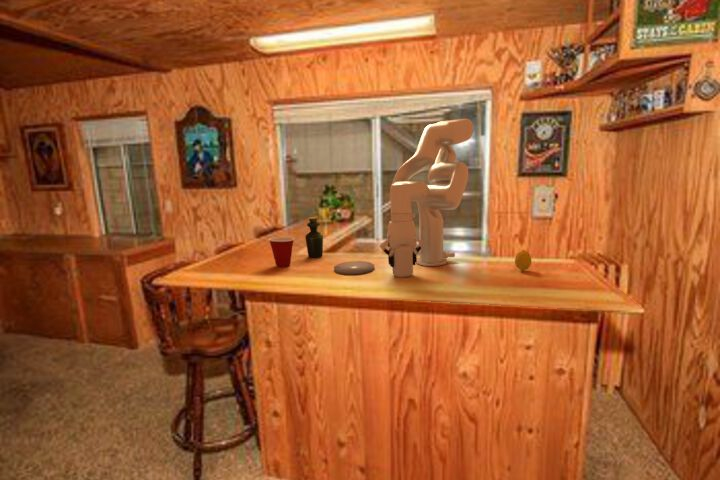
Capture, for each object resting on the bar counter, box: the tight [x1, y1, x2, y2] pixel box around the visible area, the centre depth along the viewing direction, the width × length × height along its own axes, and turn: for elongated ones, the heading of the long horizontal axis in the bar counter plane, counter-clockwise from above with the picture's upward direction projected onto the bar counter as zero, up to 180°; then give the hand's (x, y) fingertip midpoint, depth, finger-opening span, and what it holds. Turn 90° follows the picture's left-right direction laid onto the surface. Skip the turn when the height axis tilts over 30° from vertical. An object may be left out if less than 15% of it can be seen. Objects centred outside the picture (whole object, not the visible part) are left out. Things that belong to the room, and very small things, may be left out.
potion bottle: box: [304, 216, 324, 259], centre depth 177 cm, size 8×8×18 cm
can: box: [392, 245, 414, 279], centre depth 143 cm, size 8×8×12 cm
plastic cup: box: [268, 236, 295, 268], centre depth 164 cm, size 11×11×12 cm
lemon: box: [514, 249, 532, 272], centre depth 142 cm, size 6×6×8 cm
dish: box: [333, 260, 375, 276], centre depth 155 cm, size 16×16×1 cm
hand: (402, 265), depth 143 cm, fingers closed on can, 7 cm apart
